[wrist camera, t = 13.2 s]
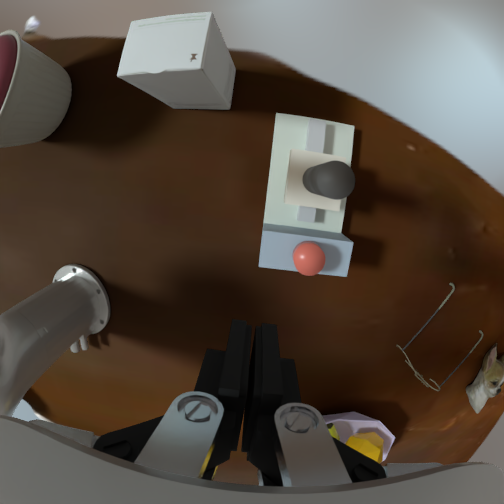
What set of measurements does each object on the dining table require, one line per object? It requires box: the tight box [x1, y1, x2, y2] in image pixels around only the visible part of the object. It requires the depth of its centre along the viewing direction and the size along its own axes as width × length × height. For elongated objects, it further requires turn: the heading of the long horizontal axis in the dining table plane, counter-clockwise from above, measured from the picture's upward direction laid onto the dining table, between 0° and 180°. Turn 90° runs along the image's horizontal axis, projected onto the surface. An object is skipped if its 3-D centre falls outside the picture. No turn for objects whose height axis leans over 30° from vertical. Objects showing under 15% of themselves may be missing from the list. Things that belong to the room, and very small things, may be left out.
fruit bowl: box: [323, 412, 395, 463], centre depth 42 cm, size 28×27×11 cm
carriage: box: [284, 149, 355, 211], centre depth 27 cm, size 6×6×14 cm
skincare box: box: [117, 12, 236, 110], centre depth 25 cm, size 8×7×16 cm
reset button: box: [292, 241, 325, 276], centre depth 29 cm, size 3×3×2 cm
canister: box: [0, 30, 72, 148], centre depth 23 cm, size 18×18×21 cm
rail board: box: [259, 113, 354, 277], centre depth 32 cm, size 18×10×7 cm, turn 174°
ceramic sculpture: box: [466, 343, 504, 413], centre depth 38 cm, size 11×9×15 cm
